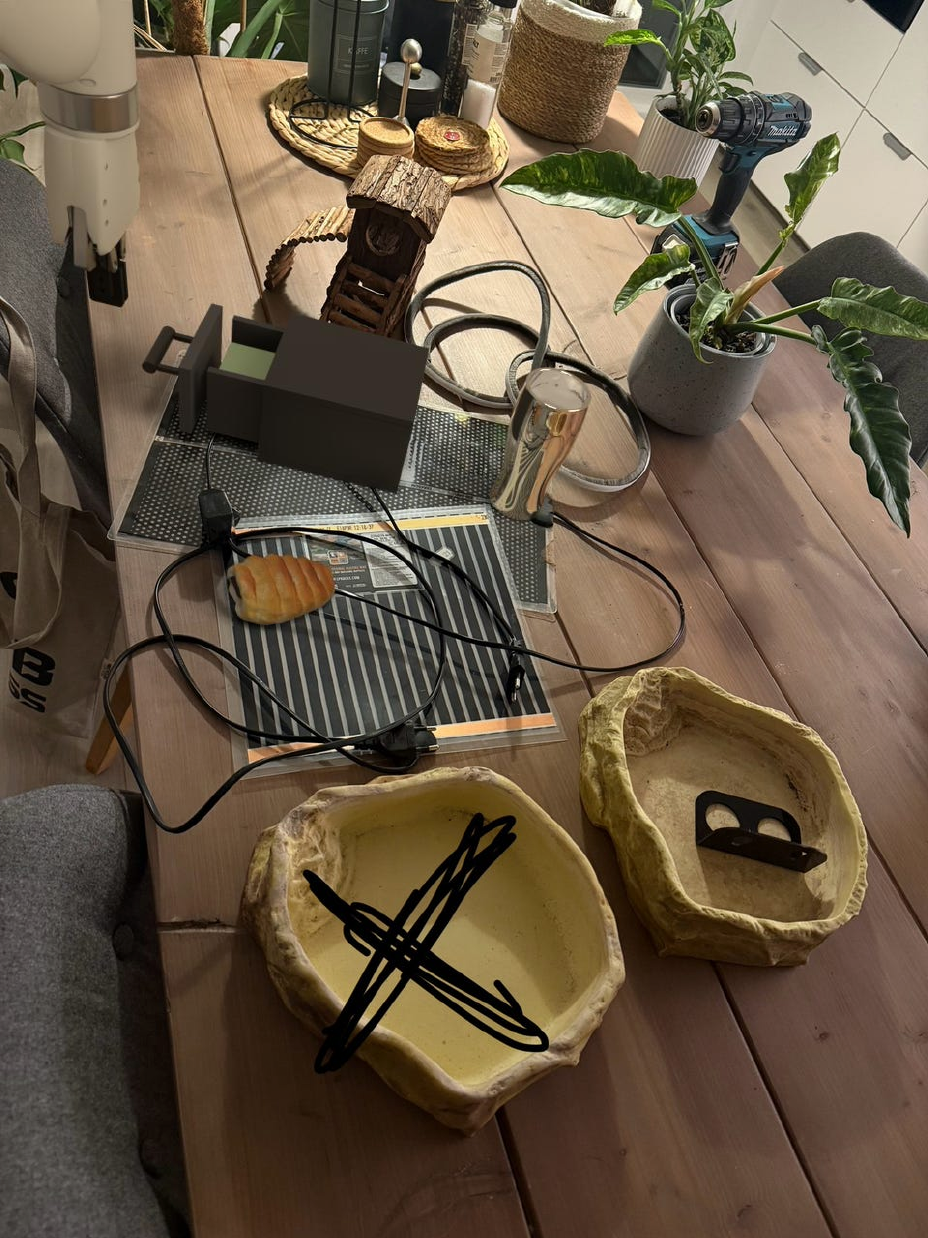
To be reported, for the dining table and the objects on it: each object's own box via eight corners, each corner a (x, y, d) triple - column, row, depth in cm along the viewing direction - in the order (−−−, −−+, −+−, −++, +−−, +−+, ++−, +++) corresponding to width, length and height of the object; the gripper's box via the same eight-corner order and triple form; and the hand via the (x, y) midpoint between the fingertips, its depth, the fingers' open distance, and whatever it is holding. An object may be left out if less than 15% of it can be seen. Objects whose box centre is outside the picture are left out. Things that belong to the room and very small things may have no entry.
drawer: (135, 420, 88) (131, 355, 82) (170, 356, 95) (169, 291, 90) (311, 462, 90) (319, 401, 84) (332, 396, 98) (341, 336, 92)
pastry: (320, 560, 83) (324, 533, 81) (344, 615, 80) (349, 589, 77) (221, 577, 79) (222, 549, 77) (241, 635, 76) (243, 608, 73)
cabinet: (257, 460, 90) (262, 383, 83) (284, 387, 98) (291, 312, 91) (397, 493, 92) (414, 421, 84) (412, 419, 100) (429, 348, 92)
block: (217, 410, 90) (218, 370, 86) (229, 381, 93) (231, 341, 90) (265, 422, 91) (268, 382, 87) (276, 393, 94) (280, 354, 90)
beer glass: (493, 524, 92) (535, 411, 81) (477, 478, 96) (515, 363, 85) (554, 523, 94) (603, 413, 83) (536, 478, 98) (580, 367, 87)
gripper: (76, 51, 75) (97, 250, 89) (1, 123, 66) (38, 333, 80) (164, 76, 76) (172, 269, 90) (103, 151, 66) (122, 353, 81)
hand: (109, 299), depth 85 cm, fingers closed
